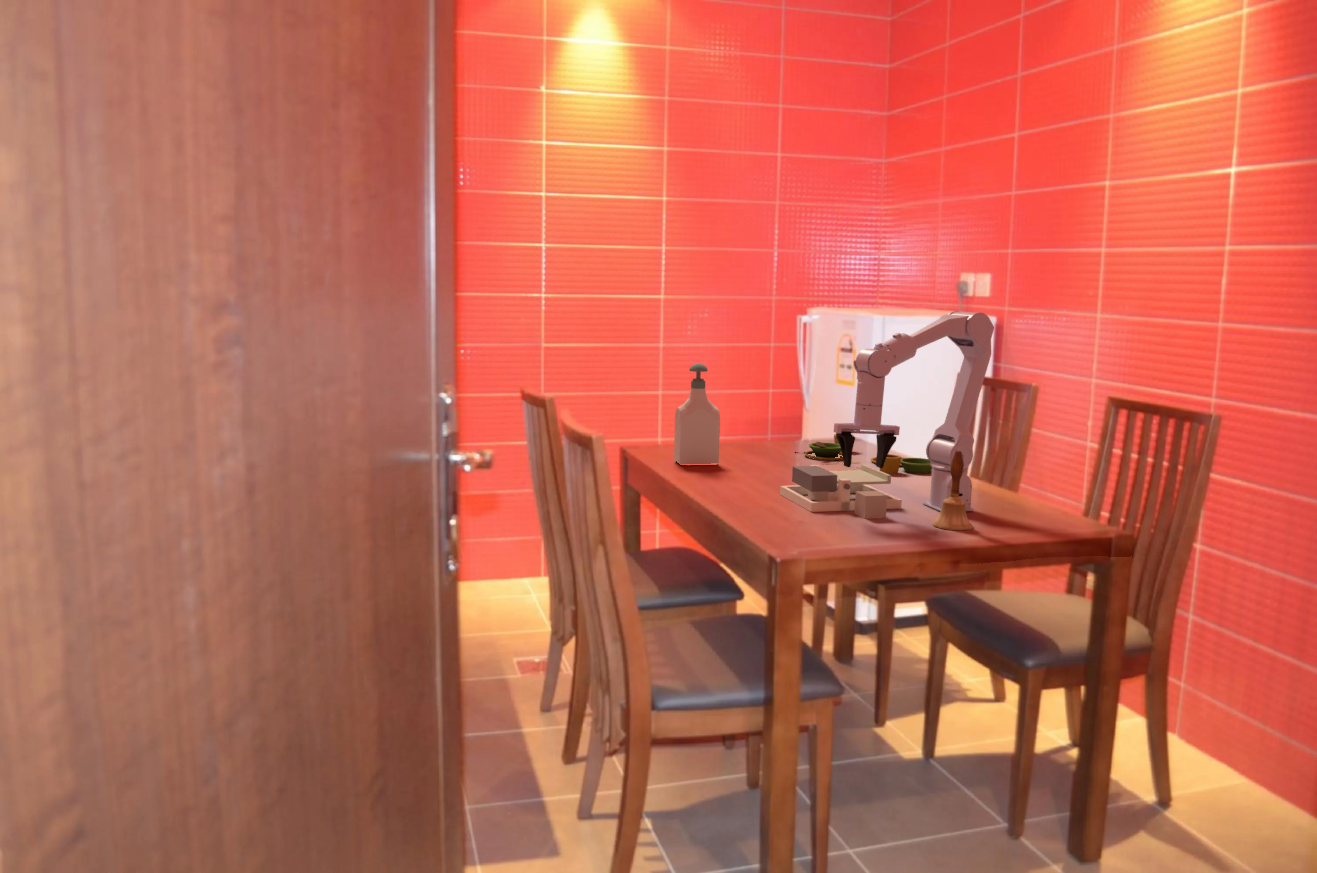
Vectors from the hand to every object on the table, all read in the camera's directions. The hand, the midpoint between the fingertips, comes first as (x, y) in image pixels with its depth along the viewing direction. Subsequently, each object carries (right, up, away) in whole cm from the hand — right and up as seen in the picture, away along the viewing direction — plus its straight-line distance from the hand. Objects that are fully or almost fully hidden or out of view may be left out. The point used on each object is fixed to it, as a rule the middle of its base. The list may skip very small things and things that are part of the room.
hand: (863, 466), depth 229 cm
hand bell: (+17, -12, -9) cm, 23 cm away
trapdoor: (-3, -5, +13) cm, 15 cm away
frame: (-2, -8, +14) cm, 17 cm away
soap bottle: (-34, -1, +60) cm, 69 cm away
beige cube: (+1, -11, 0) cm, 11 cm away
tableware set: (+13, -1, +67) cm, 69 cm away
